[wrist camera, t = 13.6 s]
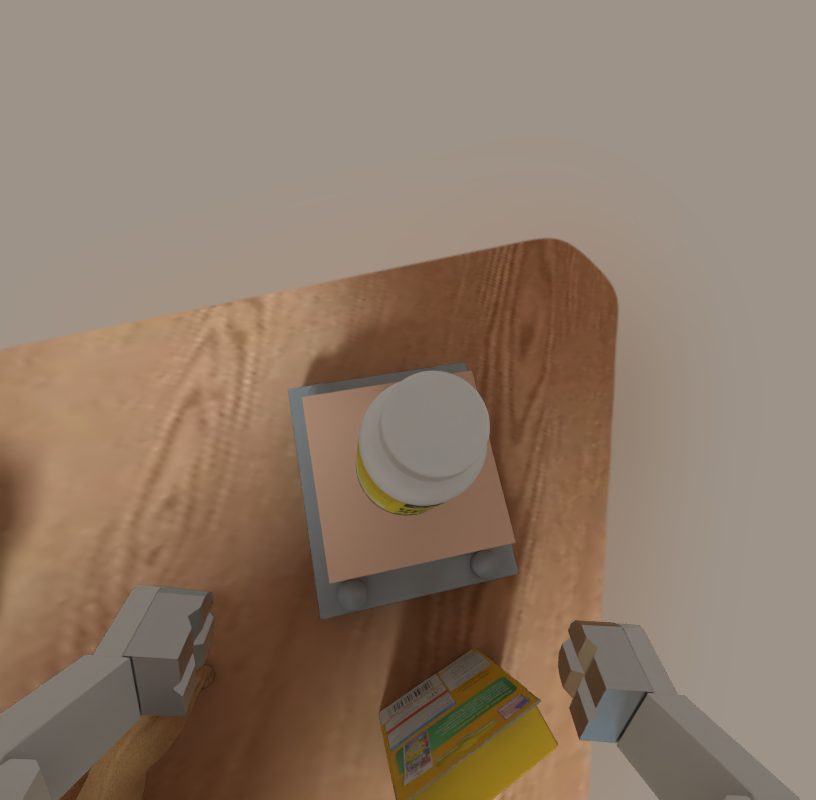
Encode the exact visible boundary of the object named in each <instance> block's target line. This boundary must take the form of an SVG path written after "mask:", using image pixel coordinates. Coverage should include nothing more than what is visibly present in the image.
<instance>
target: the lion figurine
mask: <svg viewBox="0 0 816 800" xmlns="http://www.w3.org/2000/svg"><path fill="white" fill-rule="evenodd" d="M196 676H197V686H196V688H195V691H194V693H193V696H192V699H191V701H190V704H189V707H188V709H187V712H186V714H185V716H153V715H141V718H140V719H139V720H138V721H137V722H136V723H135V724H134V725H133V726H132V727H131V728H130V729H129V730H128V731H127V732H126V733H125V734H124V735H123V736H122V737H121V738H120V739H119V740H118V741H117V742H116V743H115V744H114V745H113V746H112V747H111V748H110V749H109V750H108V751H107V752H106V753H105V754H104V755H103V756H102V757H101V758H100V759H99V760H98V761H97V762H96V763H95V764H94V765H93V766H92V767H91V768H90V771H89V774H88V777H87V779H86V781H85V784H84V786H83V787H82V789H81V791H80V793H79V795H78V797H77V799H76V800H142V797H143V794H144V789H145V784H146V775H147V770H148V769H149V768H150V767H151V766H153V765H154V764H155V763H156V762H157V761H159V760H160V759H161V758H162V756H163V755H164V754H165V753H166V752H167V751H168V750H169V749H170V748H171V746H172V745H173V743H174V742H175V740H176V739H177V737H178V736H179V735H180V733H181V732H182V730H183V729H184V727H185V725H186V723H187V721H188V719H189V717H190V715H191V712H192V709H193V707H194V704H195V701H196V699H197V696H198V694H199V691H200V690H201V689H203V688H206V687H207V686H209V685H210V684H211V683H212V681H213V678H214V670H213V669H212V668H211V667H210V666H207V665H202V666H201V667H200V668H199V669H197V670H196Z"/></svg>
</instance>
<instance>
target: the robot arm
mask: <svg viewBox="0 0 816 800" xmlns="http://www.w3.org/2000/svg"><path fill="white" fill-rule="evenodd" d="M212 604H213V600H212V592H207V591H197V590H188V589H179V588H169V587H159V586H148V585H138V586H137V587H135V588H134V589H133V590H132V591H131V593H130V594H129V596H128V598H127V599H126V601H125V603H124V604H123V606H122V608H121V609H120V611H119V613H118V614H117V616H116V618H115V619H114V621H113V622H112V624H111V626H110V627H109V629H108V631H107V632H106V634H105V636H104V637H103V639H102V641H101V642H100V644H99V646H98V647H97V649H96V651H95V652H94V654H93V655H84V656H82V657H81V658H80V659H78V660H77V661H75V662H74V663H72V664H71V665H70V666H68V667H67V668H65V669H64V670H62V671H61V672H59V673H58V674H57V675H55V676H54V677H52V678H51V679H49V680H48V681H47V682H45V683H44V684H42V685H41V686H39V687H38V688H37V689H35V690H34V691H32V692H31V693H29V694H28V695H26V696H25V697H24V698H22V699H21V700H19V701H18V702H16V703H15V704H14V705H12V706H11V707H9V708H8V709H6V710H5V711H4V712H2V713H1V714H0V800H59V799H60V798H61V797H62V796H63V795H64V794H65V793H66V792H67V791H68V790H69V789H70V788H71V787H72V786H73V785H74V784H75V783H76V782H77V781H78V780H79V779H80V778H81V777H82V776H83V775H84V774H85V773H86V772H87V771H88V770H89V769H90V768H91V767H92V766H93V765H94V764H95V763H96V762H97V761H98V760H99V759H100V758H101V757H102V756H103V755H104V754H105V753H106V752H107V751H108V750H109V749H110V748H111V747H112V746H113V745H114V744H115V743H116V742H117V741H118V740H119V739H120V738H121V737H122V736H123V735H124V734H125V733H126V732H127V731H128V730H129V729H130V728H131V727H132V726H133V725H134V724H135V723H136V722H137V721H138V720H139V719H140V718H141V715H153V716H185V714H186V712H187V709H188V707H189V704H190V701H191V699H192V696H193V693H194V691H195V688H196V686H197V676H196V670H197V669H199V668H200V667H201V666H202V665H203V664H205V661H206V659H207V656H208V653H209V650H210V646H211V642H212V638H213V631H214V617H213V616H212V615H211V614H210V613H209V611H210V609H211V606H212ZM568 632H569V635H570V639H568V640H567V641H565V642H564V643H562V646H561V649H560V651H559V657H558V669H559V675H560V679H561V683H562V686H563V688H564V689H565V690H566V691H567V693H568V694H569V695H570V696H571V697H572V698H573V699H572V702H571V705H570V707H569V709H570V712H571V715H572V718H573V722H574V725H575V728H576V731H577V734H578V737H579V740H586V741H597V742H608V743H618V744H617V746H618V748H619V749H620V750H621V752H622V753H623V754H624V755H625V757H626V758H627V759H628V761H629V762H630V763H631V764H632V766H633V767H634V768H635V769H636V771H637V772H638V773H639V774H640V776H641V777H642V778H643V779H644V781H645V782H646V783H647V784H648V786H649V787H650V788H651V790H652V791H653V792H654V793H655V795H656V796H657V797H658V798H659V800H800V799H799V797H798V796H796V795H795V794H794V793H793V792H792V791H791V790H790V789H789V788H787V787H786V786H785V785H784V784H783V783H782V782H781V781H780V780H778V779H777V778H776V777H775V776H774V775H773V774H772V773H771V772H770V771H768V770H767V769H766V768H765V767H764V766H763V765H762V764H761V763H759V762H758V761H757V760H756V759H755V758H754V757H753V756H752V755H751V754H749V753H748V752H747V751H746V750H745V749H744V748H743V747H742V746H740V745H739V744H738V743H737V742H736V741H735V740H734V739H733V738H731V737H730V736H729V735H728V734H727V733H726V732H724V730H722V729H721V728H720V727H719V726H718V725H717V724H716V723H715V722H714V721H712V720H711V719H710V718H709V717H708V716H707V715H706V714H705V713H703V712H702V711H701V710H700V709H699V708H698V707H696V705H694V704H693V703H692V702H691V701H690V700H689V699H688V698H687V697H686V696H683V695H678V694H677V692H676V690H675V688H674V686H673V684H672V682H671V681H670V679H669V677H668V675H667V673H666V671H665V669H664V667H663V665H662V664H661V661H660V660H659V658H658V656H657V654H656V652H655V650H654V648H653V646H652V644H651V642H650V640H649V638H648V636H647V635H646V633H645V631H644V629H643V628H642V627H641V626H640V625H629V624H616V623H611V622H596V621H580V620H575V621H574V622H572V623H571V625H570V627H569V629H568Z"/></svg>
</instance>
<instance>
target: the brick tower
mask: <svg viewBox="0 0 816 800" xmlns="http://www.w3.org/2000/svg"><path fill="white" fill-rule="evenodd" d="M424 371H443V372H447V373H451V374H453V375H456V376H458V377H460V378H462V379H463V380H465V381H466V382H468V383H469V384H470V385H471V386H472V387H473V388H474V389H475V390H476V391H477V388H476V384H475V380H474V376H473V372H472V370H471V371H467V367H466V363H465V362H462V363H455V364H449V365H437V366H435V367H429V368H422V369H416V370H409V371H403V372H396V373H390V374H383V375H377V376H370V377H364V378H357V379H351V380H344V381H338V382H331V383H325V384H324V383H317V384H315V385H312V386H305V387H299V388H292V389H288V393H289V400H290V407H291V414H292V421H293V428H294V435H295V442H296V449H297V456H298V463H299V471H300V478H301V485H302V492H303V499H304V506H305V513H306V520H307V527H308V534H309V541H310V549H311V556H312V563H313V570H314V577H315V584H316V591H317V598H318V605H319V612H320V619H321V620H322V619H327V618H331V617H335V616H339V615H344V614H348V613H352V612H357V611H361V610H365V609H370V608H374V607H378V606H383V605H387V604H391V603H395V602H400V601H404V600H408V599H413V598H417V597H421V596H426V595H430V594H434V593H438V592H443V591H447V590H451V589H456V588H460V587H464V586H469V585H473V584H477V583H481V582H486V581H490V580H494V579H499V578H503V577H507V576H512V575H516V574H519V573H518V569H517V565H516V562H515V558H514V554H513V550H512V546H511V543H516V541H515V538H514V534H513V530H512V526H511V522H510V518H509V514H508V510H507V506H506V502H505V498H504V494H503V490H502V486H501V483H500V479H499V475H498V471H497V467H496V463H495V459H494V455H493V451H492V447H491V443H490V439H488V442H487V452H486V457H485V461H484V464H483V467H482V469H481V471H480V473H479V475H478V476H477V478H476V479H475V481H474V482H473V483H472V484H471V485H470V486H469V487H468V488H467V489H466V490H465V491H464V492H463V493H461V494H460V495H458V496H457V497H455V498H454V499H452V500H449V501H448V502H445V503H443V504H441V505H439V506H437V507H435V508H433V509H431V510H429V511H427V512H424V513H421V514H418V515H410V516H401V515H395V514H391V513H388V512H386V511H384V510H382V509H380V508H379V507H377V506H376V505H375V504H373V503H372V502H371V501H370V500H369V498H368V497H367V496H366V495H365V493H364V492H363V490H362V488H361V486H360V484H359V481H358V478H357V473H356V454H357V447H358V438H359V431H360V426H361V423H362V420H363V417H364V415H365V413H366V411H367V409H368V407H369V405H370V404H371V403H372V401H373V400H374V399H375V398H376V397H377V396H378V395H379V394H380V393H381V392H382V391H384V390H385V389H386V388H388V387H390V386H391V385H393V384H395V383H397V382H400V381H402V380H404V379H405V378H407V377H409V376H411V375H413V374H416V373H419V372H424Z"/></svg>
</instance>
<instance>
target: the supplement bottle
mask: <svg viewBox="0 0 816 800" xmlns="http://www.w3.org/2000/svg"><path fill="white" fill-rule="evenodd" d="M489 434H490V420H489V414H488V411H487V408H486V405H485V403H484V401H483V399H482V398H481V396H480V395H479V393H478V392H477V391H476V390H475V389H474V388H473V387H472V386H471V385H470V384H469V383H468V382H466V381H465V380H463V379H462V378H460V377H458V376H456V375H453V374H451V373H447V372H443V371H424V372H419V373H416V374H413V375H411V376H409V377H407V378H405V379H404V380H402V381H400V382H397V383H395V384H393V385H391V386H390V387H388V388H386V389H385V390H384V391H382V392H381V393H380V394H379V395H378V396H377V397H376V398H375V399H374V400H373V401H372V403H371V404H370V405H369V407H368V409H367V411H366V413H365V415H364V417H363V420H362V423H361V426H360V431H359V438H358V447H357V454H356V473H357V478H358V481H359V484H360V486H361V488H362V490H363V492H364V493H365V495H366V496H367V497H368V498H369V500H370V501H371V502H372V503H373V504H375V505H376V506H377V507H379V508H380V509H382V510H384V511H386V512H388V513H391V514H395V515H401V516H410V515H418V514H421V513H424V512H427V511H429V510H431V509H433V508H435V507H437V506H439V505H441V504H443V503H445V502H448V501H449V500H452V499H454V498H455V497H457V496H458V495H460V494H461V493H463V492H464V491H465V490H466V489H467V488H468V487H469V486H470V485H471V484H472V483H473V482H474V481H475V479H476V478H477V476H478V475H479V473H480V471H481V469H482V467H483V464H484V461H485V457H486V452H487V442H488V439H489Z"/></svg>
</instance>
